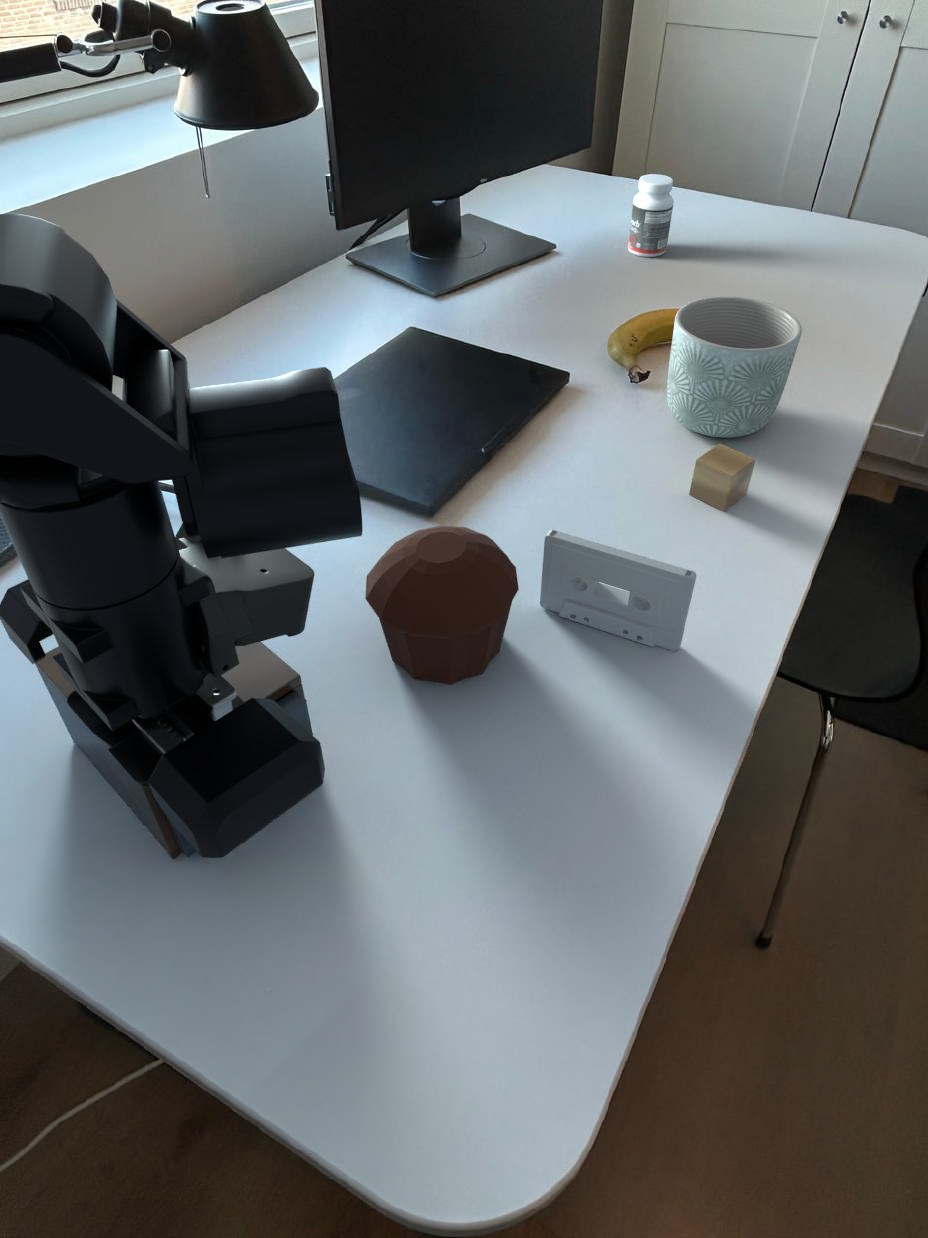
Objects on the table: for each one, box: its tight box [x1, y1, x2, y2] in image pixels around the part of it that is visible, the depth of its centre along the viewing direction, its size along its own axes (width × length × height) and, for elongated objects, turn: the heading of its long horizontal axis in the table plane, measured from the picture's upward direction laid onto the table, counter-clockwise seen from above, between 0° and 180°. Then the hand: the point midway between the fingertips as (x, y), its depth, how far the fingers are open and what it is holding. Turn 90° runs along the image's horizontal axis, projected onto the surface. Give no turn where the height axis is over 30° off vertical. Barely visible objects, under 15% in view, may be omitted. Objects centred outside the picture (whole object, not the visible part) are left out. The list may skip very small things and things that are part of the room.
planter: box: [666, 295, 803, 439], centre depth 92 cm, size 12×12×11 cm
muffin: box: [365, 525, 520, 686], centre depth 67 cm, size 12×11×10 cm
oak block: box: [688, 443, 757, 512], centre depth 84 cm, size 4×4×4 cm
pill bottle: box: [627, 173, 674, 258], centre depth 126 cm, size 6×6×10 cm
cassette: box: [539, 529, 697, 652], centre depth 69 cm, size 12×2×8 cm, turn 63°
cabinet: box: [34, 641, 306, 860], centre depth 60 cm, size 14×12×9 cm
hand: (190, 792), depth 46 cm, fingers closed
